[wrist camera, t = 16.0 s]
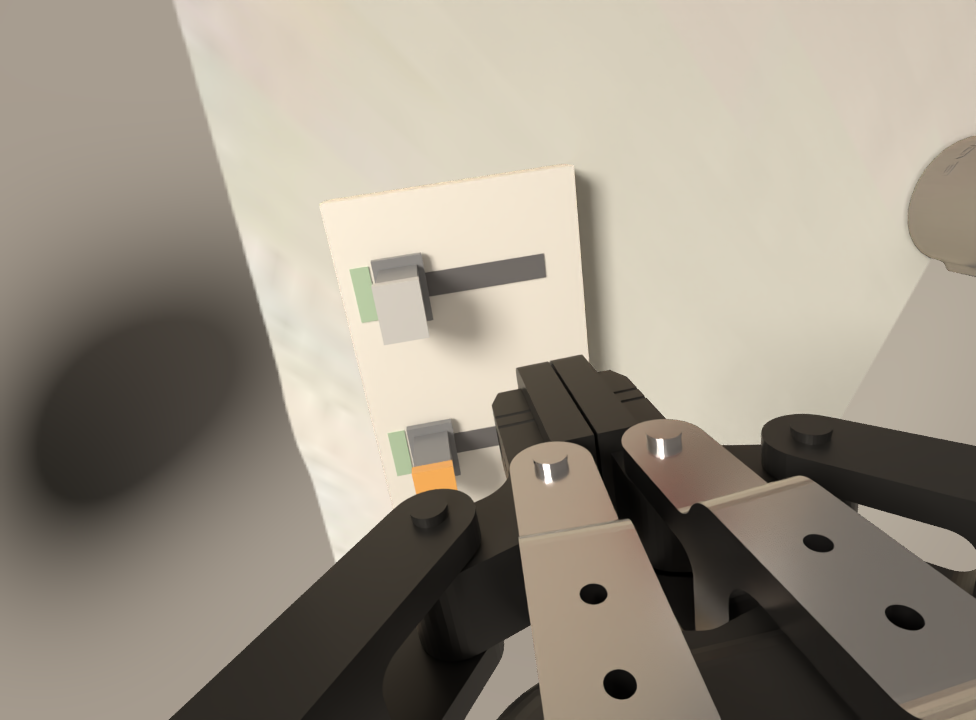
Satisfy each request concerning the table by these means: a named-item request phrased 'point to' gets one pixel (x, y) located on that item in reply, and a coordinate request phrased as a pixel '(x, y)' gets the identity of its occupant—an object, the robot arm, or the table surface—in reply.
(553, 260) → the switch box
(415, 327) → the on lever
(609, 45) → the table surface
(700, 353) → the table surface
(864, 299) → the table surface
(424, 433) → the orange and grey block
